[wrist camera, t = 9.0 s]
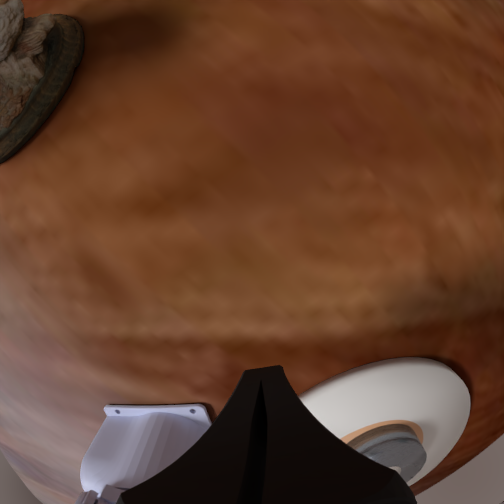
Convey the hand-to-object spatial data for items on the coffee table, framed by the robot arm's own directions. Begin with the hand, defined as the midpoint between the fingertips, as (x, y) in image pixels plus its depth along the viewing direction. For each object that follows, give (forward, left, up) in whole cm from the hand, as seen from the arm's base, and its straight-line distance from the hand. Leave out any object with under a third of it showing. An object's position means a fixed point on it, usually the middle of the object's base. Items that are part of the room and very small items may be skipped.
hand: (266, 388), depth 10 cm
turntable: (+7, -18, -9) cm, 21 cm away
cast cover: (+8, -17, -8) cm, 20 cm away
